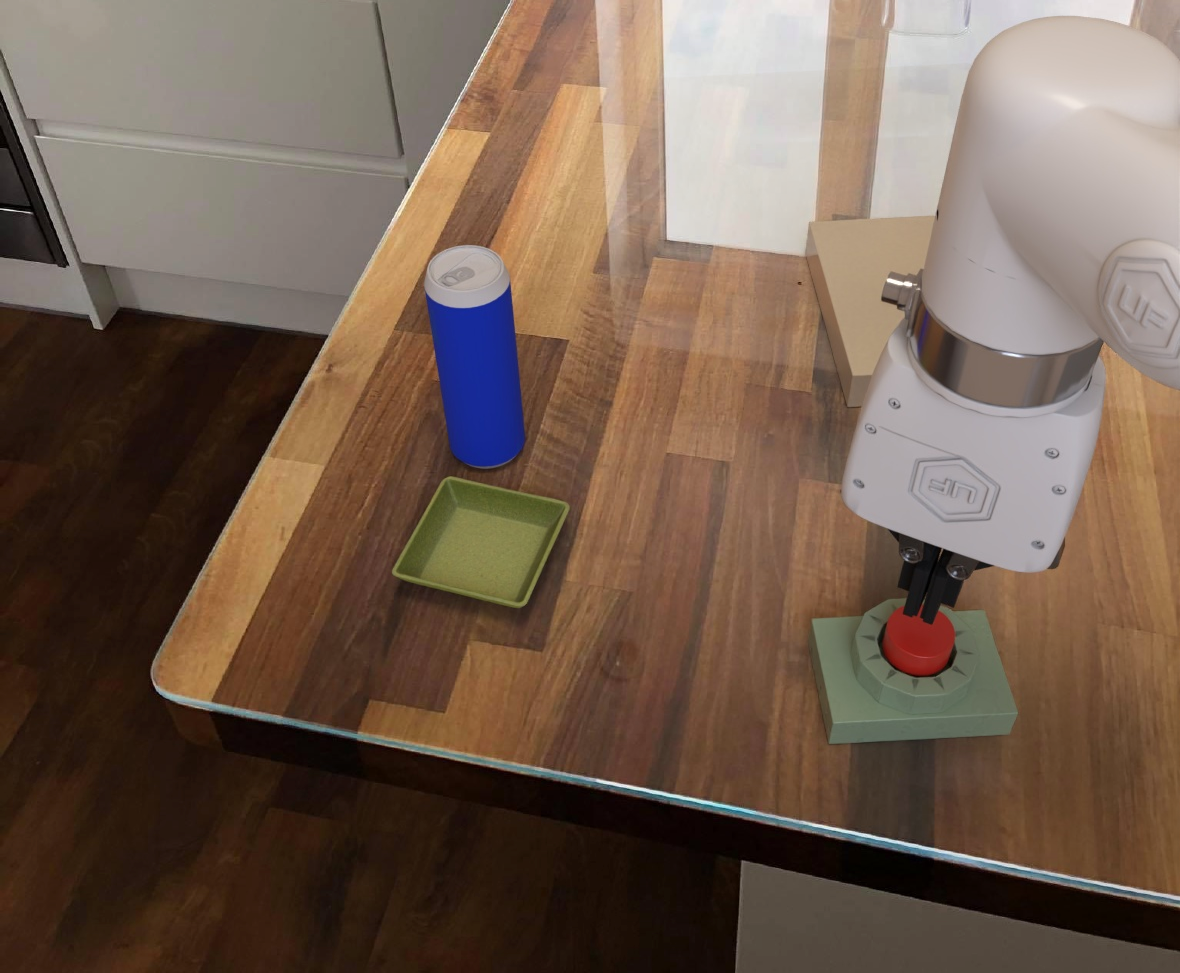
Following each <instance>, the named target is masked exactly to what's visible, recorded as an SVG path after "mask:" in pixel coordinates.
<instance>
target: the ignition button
mask: <svg viewBox="0 0 1180 973" xmlns="http://www.w3.org/2000/svg"><path fill="white" fill-rule="evenodd" d="M904 607H905V606H902V607H900V608H898V609H897V610H895V611H894V612H893V613H892V614H891V615H890V617H889V619H888V622H887V626H886V630H885V634H884V638H883V651H884V654H885V656H886V657H887V659H888V660H889V662H890V663H891V664H892V665H893V666H894V667H896V668H897V669H899V670H900V671H902V672H905V673H907V674H910V675H916V676H927V675H931V674H934V673H936V672H938V671H940V670H941V669H943V668H944V667H945V665H946V664H947V662H948V660H949V657H950V654H951V651H952V648H953V645H954V641H955V630H954V627H953V625H952V623H951V621H950V620H949V618H948V617H947V616H946V615H945V614H943V613H942V612H941V611H939V610H938V613H937V615H936V617H935V620H934V622H933V625H930V624H928V623H925V622H923V619H922V618H920V615H921V612H922V608H923V604H922V605H921V608H920V610H919V613H918V615H917V617H916V616H914V615H913V617H912V618H911V617H909V616H906V615H903V610H904Z"/></svg>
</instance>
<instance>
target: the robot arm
mask: <svg viewBox="0 0 1180 973" xmlns="http://www.w3.org/2000/svg"><path fill="white" fill-rule="evenodd" d="M959 102H960V103H959V106H958V110H957V117H956V121H955V126H954V130H953V134H952V139H951V142H950V148H949V153H948V157H947V161H946V165H945V170H944V175H943V179H942V183H941V184H942V185H941V189H940V193H939V198H938V202H937V207H936V211H935V214H934V216H935V220H934V224H933V229H932V233H931V238H930V242H929V247H928V251H927V256H926V260H925V265H924V269H921V268H920V270H919V272H918V274H917V275H915V274H911V273H908V275H907V276H906V275H902V274H899V273H895V272H892V271H891V272H890V273H889V275H888V277H887V279H886V282H885V285H884V288H883V291H882V296H881V301H882V302H885V303H889V304H892V305H896V306H897V309H898V310H901V311H904V312H905V317H904V318H903V319H902V320H901V322H900V323H899V325H898V327H897V328H896V329H895V330H894V331H893V332H892V334H891V336H890V337H889V339H888V341H887V343H886V345H885V347H884V349H883V351H882V353H881V355H880V357H879V359H878V362H877V364H876V367H875V369H874V371H873V374H872V377H871V379H870V382H869V385H868V388H867V391H866V394H865V397H864V401H863V404H862V407H860V411H859V414H858V417H857V421H856V424H855V428H854V432H853V436H852V439H851V443H850V446H849V450H848V455H847V458H846V462H845V466H844V469H843V474H842V479H841V486H840V496H841V500H842V502H843V504H844V505H845V507H846V508H848V509H849V511H851V512H852V513H854V514H855V515H857V517H860V518H861V519H863V520H866V521H867V522H870V523H871V524H875V525H878V526H879V527H883V528H885V529H887V531H888V532H889V533H890V534H891V536H892V537H893V538H894V539H895V540H896V541H897V543H898V555H899V557H900V558H901V559H902V560H903V563H902V567H901V571H900V574H899V578H898V582H897V586H896V587H897V588H898V589H899V590H903V591H906V592H907V595H906V598H907V599H906V603H905V607H904V610H903V615H906V616H909V617H911V618H912V617H913V615H914V616H916V617H917V615H918V613H919V610H920V608H921V605H922V603H923V601H924V599H925V601H924V605H923V608H922V612H921V615H920V618H922V619H923V622H925V623H928V624H930V625H933V622H934V620H935V617H936V615H937V613H938V610H939V608H940V605H941V606H942V605H943V606H946V607H949V608H953V609H954V608H955V606H956V604H957V601H958V600H959V596H960V593H961V591H962V588H963V585H964V582H965V581H966V580H968V579H969V578H970V577H971V575H972V574H973V572H974V571H979V570H984V569H987V568H992V567H997V568H1001V569H1004V570H1008V571H1011V572H1016V573H1025V574H1026V573H1027V574H1031V573H1032V574H1034V573H1041V572H1045V571H1046V570H1054V569H1057V568H1058V567H1059V565H1060V564H1061V560H1062V557H1063V554H1064V551H1065V548H1066V535H1067V533H1068V530H1069V528H1070V526H1071V523H1072V520H1073V518H1074V516H1075V512H1076V509H1077V507H1078V503H1079V500H1080V498H1081V494H1082V492H1083V488H1084V485H1085V482H1086V479H1087V476H1088V473H1089V470H1090V466H1091V464H1092V460H1093V457H1094V453H1095V449H1096V446H1097V441H1098V438H1099V434H1100V433H1099V432H1100V427H1101V422H1102V417H1103V410H1104V403H1105V396H1106V383H1107V371H1106V367H1105V364H1104V361H1103V359H1102V357H1101V356H1100V353H1101V350H1102V348H1103V345H1104V344H1105V345H1106V346H1107V347H1108V348H1110V349H1111V350H1112V351H1113V352H1114V353H1115V354H1116V355H1118V356H1119V357H1120V358H1121V359H1122V360H1123V361H1124V362H1125V363H1126V364H1128V365H1129V366H1131V367H1132V368H1133V369H1134V370H1137V372H1139V373H1141V375H1143V376H1144V377H1147V378H1149V379H1151V380H1153V381H1155V382H1156V383H1159V384H1161V385H1162V386H1164V387H1168V388H1170V389H1173V390H1177V391H1179V392H1180V58H1179V57H1178V56H1177V55H1176V54H1175V53H1174V52H1173V51H1172V50H1171V49H1170V48H1169V47H1168V46H1167V44H1165V43H1164V42H1162V41H1160V40H1159V39H1158V38H1156V37H1155V36H1153V35H1151V34H1149V33H1147V32H1145V31H1143V30H1141V29H1138V28H1136V27H1133V26H1131V25H1127V24H1124V23H1120V22H1117V21H1114V20H1110V19H1105V18H1099V17H1098V18H1097V17H1090V16H1081V15H1080V16H1079V15H1053V16H1043V17H1037V18H1033V19H1029V20H1026V21H1022V22H1020V23H1017V24H1014V25H1013V26H1010V27H1008V28H1006V29H1004V30H1002V31H1000V32H999V33H997V35H995V36H993V38H991V39H990V40H989V41H987V43H986V44H984V46H983V47H982V49H980V51H979V52H978V54H977V55H976V56H975V58H974V59H973V62H972V64H971V65H970V68H969V70H968V72H967V76H966V79H965V82H964V87H963V91H962V94H961V97H960V101H959Z"/></svg>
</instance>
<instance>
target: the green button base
mask: <svg viewBox="0 0 1180 973" xmlns="http://www.w3.org/2000/svg"><path fill="white" fill-rule="evenodd" d="M906 599H907V597H905V598H902V597H901V598H887V599H886V600H884V601H882V602H880V603H879V604H878V605H875V606H874V607H872V608H871V609H869V610H867V611H865V612H864V613H863V615H853V616H852V615H851V616H837V617H834V616H833V617H817V618H816V617H815V618H811V620H810V625H809V631H808V636H807V644H808V650H809V654H810V660H811V664H812V665H811V666H812V668H813V674H814V678H815V679H814V680H815V684H816V689H817V690H816V691H817V694H818V699H819V704H820V709H821V715H822V719H823V723H824V724H823V725H824V729H825V733H826V738H827V743H828V744H829V745H838V744H855V743H856V744H858V743H859V744H861V743H875V742H896V741H911V740H912V741H914V740H931V739H934V740H935V739H952V738H971V737H990V736H1008V735H1010V734H1011V732H1012V730H1013V728H1014V725H1015V722H1016V721H1017V717H1018V715H1019V711H1018V708H1017V705H1016V702H1015V698H1014V695H1013V692H1012V689H1011V687H1010V684H1009V680H1008V678H1007V675H1006V672H1005V669H1004V664H1003V663H1002V662H1003V661H1002V659H1001V655H1000V653H999V650H998V648H997V644H996V641H995V638H994V635H993V631H992V629H991V626H990V622H989V619H988V616H987V614H986V610H985V609H971V610H967V609H966V610H952V609H951V608H950V607H948V606H945V605H942V604H941V605H940V608H939V611H941V612H942V613H943V614H945V615H946V616H947V617H948V618H949V620H950V621H951V623H952V625H953V627H954V630H955V641H954V645H953V648H952V651H951V654H950V657H949V660H948V662H947V664H946V665H945V667H944V668H943V669H941V670H940V671H938V672H936V673H934V674H931V675H927V676H916V675H910V674H907V673H905V672H902V671H900V670H899V669H897V668H896V667H894V666H893V665H892V664H891V663H890V662H889V660H888V659H887V657H886V656H885V654H884V651H883V638H884V634H885V630H886V626H887V622H888V619H889V617H890V615H891V614H892V613H893V612H894V611H895V610H897V609H898V608H900V607H902V606H905V603H906ZM924 601H925V598H924ZM924 601H923V603H922V604H923V605H924Z"/></svg>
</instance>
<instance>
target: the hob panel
mask: <svg viewBox="0 0 1180 973" xmlns="http://www.w3.org/2000/svg"><path fill="white" fill-rule="evenodd" d="M934 220H935V215H918V216H915V215H914V216H896V217H895V216H894V217H877V218H876V217H874V218H859V219H857V218H855V219H836V220H834V219H833V220H817V221H815V220H814V221H813V220H812V221H809V222H808V229H807V237H806V242H805V243H806V244H805V251H804V252H805V256H806V260H807V263H808V268H809V271H810V275H811V279H812V282H813V286H814V290H815V294H816V297H817V301H818V305H819V308H820V311H821V316H822V319H823V324H824V326H825V330H826V333H827V338H828V341H829V344H830V348H831V353H832V355H833V359H834V363H835V367H836V370H837V374H838V377H839V381H840V385H841V388H842V393H843V396H844V400H845V403H846V407H847V408H859V407H860V408H861V407H862V404H863V401H864V397H865V394H866V391H867V388H868V385H869V382H870V379H871V377H872V374H873V371H874V369H875V367H876V364H877V362H878V359H879V357H880V355H881V353H882V351H883V349H884V347H885V345H886V343H887V341H888V339H889V337H890V336H891V334H892V332H893V331H894V330H895V329H896V328H897V327H898V325H899V323H900V322H901V320H902V319H903V318H904V317H905V312H904V311H901V310H898V309H897V306H896V305H892V304H889V303H885V302H882V301H881V296H882V291H883V288H884V285H885V282H886V279H887V277H888V275H889V273H890V272H891V271H892V272H895V273H899V274H902V275H906V276H907V275H908V273H911V274H915V275H917V274H918V272H919V270H920V268H921V269H924V265H925V260H926V256H927V251H928V247H929V242H930V238H931V233H932V229H933V224H934Z"/></svg>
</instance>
